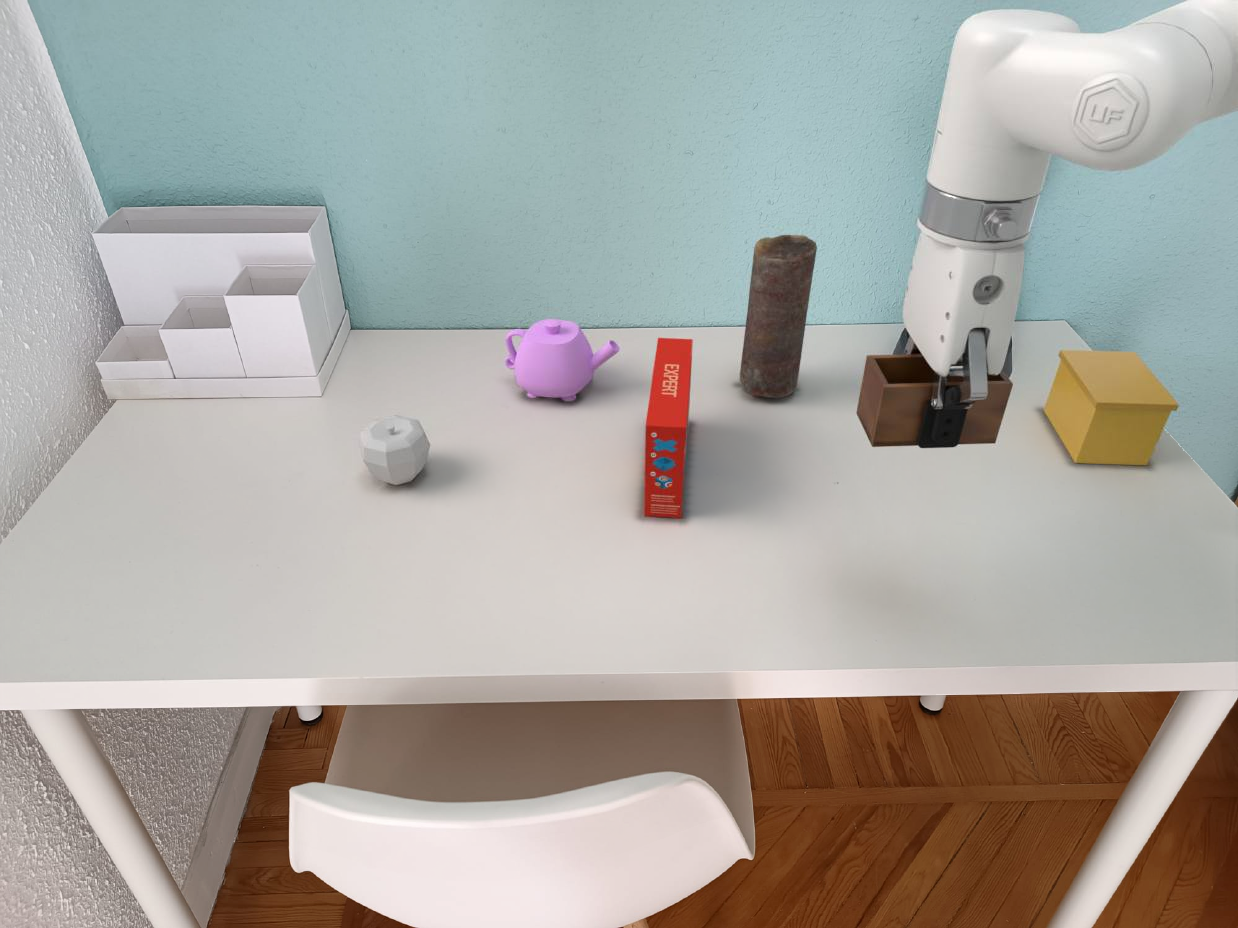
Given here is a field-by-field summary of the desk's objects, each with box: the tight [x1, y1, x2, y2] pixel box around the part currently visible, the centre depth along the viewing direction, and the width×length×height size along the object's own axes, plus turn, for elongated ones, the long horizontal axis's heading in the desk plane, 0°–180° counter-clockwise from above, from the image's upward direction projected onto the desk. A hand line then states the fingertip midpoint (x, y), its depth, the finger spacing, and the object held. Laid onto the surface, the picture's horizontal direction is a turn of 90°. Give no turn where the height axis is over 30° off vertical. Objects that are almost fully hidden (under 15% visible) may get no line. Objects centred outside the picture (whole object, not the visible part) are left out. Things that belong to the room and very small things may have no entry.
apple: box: [357, 414, 431, 486], centre depth 96 cm, size 8×8×7 cm
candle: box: [739, 234, 818, 399], centre depth 106 cm, size 8×7×20 cm
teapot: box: [504, 318, 621, 402], centre depth 110 cm, size 10×15×9 cm
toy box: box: [643, 337, 694, 519], centre depth 96 cm, size 18×4×12 cm, turn 174°
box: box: [1043, 349, 1180, 466], centre depth 101 cm, size 12×9×8 cm
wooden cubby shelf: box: [856, 354, 1014, 448], centre depth 70 cm, size 10×5×6 cm, turn 92°
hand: (925, 423), depth 72 cm, fingers closed on wooden cubby shelf, 5 cm apart
